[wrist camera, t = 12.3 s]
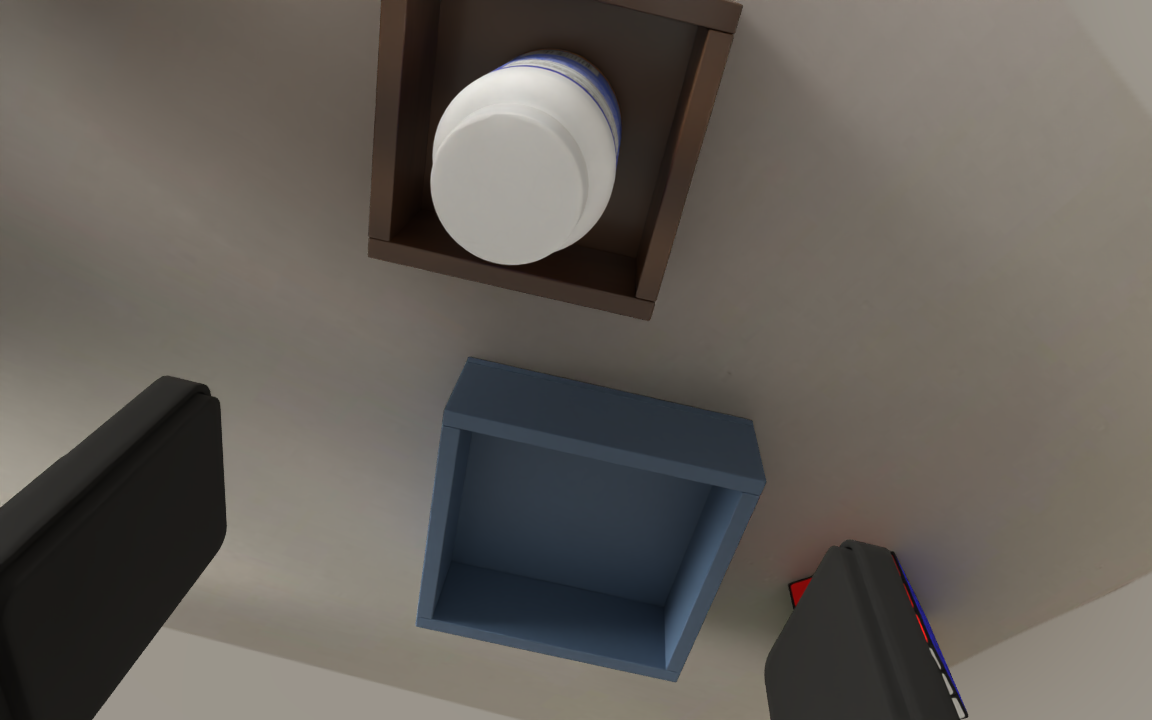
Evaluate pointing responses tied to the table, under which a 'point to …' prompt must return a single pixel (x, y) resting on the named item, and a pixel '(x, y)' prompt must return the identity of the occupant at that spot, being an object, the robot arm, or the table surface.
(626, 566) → the slate bin
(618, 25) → the walnut bin
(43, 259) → the table surface
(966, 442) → the table surface
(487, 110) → the pill bottle
